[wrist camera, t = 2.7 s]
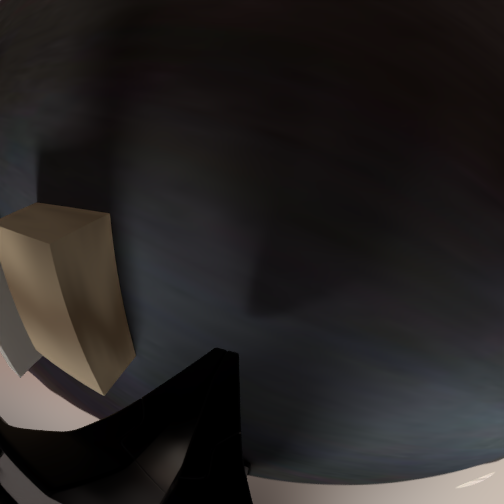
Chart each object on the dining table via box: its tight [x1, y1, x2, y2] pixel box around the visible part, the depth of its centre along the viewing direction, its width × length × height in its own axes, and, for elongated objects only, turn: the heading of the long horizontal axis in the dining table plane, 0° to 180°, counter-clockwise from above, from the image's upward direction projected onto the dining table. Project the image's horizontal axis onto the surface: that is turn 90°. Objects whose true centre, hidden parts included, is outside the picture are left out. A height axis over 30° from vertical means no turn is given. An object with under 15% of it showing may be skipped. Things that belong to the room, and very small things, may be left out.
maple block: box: [0, 203, 136, 396], centre depth 11 cm, size 8×6×4 cm
